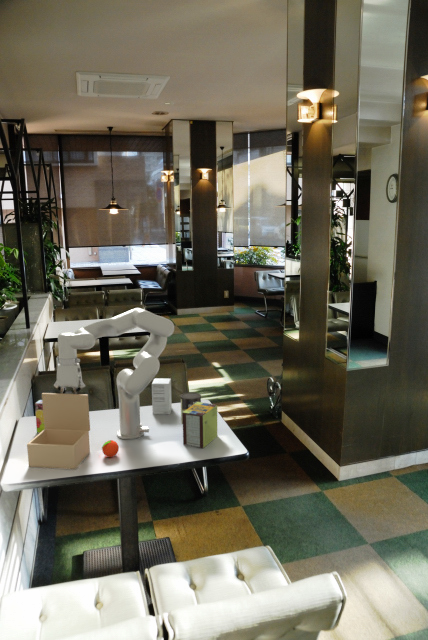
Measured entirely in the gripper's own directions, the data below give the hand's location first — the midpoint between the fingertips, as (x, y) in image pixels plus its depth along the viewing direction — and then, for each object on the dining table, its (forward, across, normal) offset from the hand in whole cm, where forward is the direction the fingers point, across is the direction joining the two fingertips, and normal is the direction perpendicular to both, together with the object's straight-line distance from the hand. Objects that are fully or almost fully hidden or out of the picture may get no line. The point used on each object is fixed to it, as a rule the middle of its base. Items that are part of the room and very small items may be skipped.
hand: (70, 400), depth 225 cm
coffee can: (+21, -49, -33) cm, 62 cm away
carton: (+21, 0, +14) cm, 25 cm away
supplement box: (+21, -31, -47) cm, 60 cm away
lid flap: (+3, 0, +6) cm, 6 cm away
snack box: (+21, +12, -16) cm, 29 cm away
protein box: (+21, -56, -12) cm, 61 cm away
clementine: (+21, -20, +9) cm, 31 cm away
